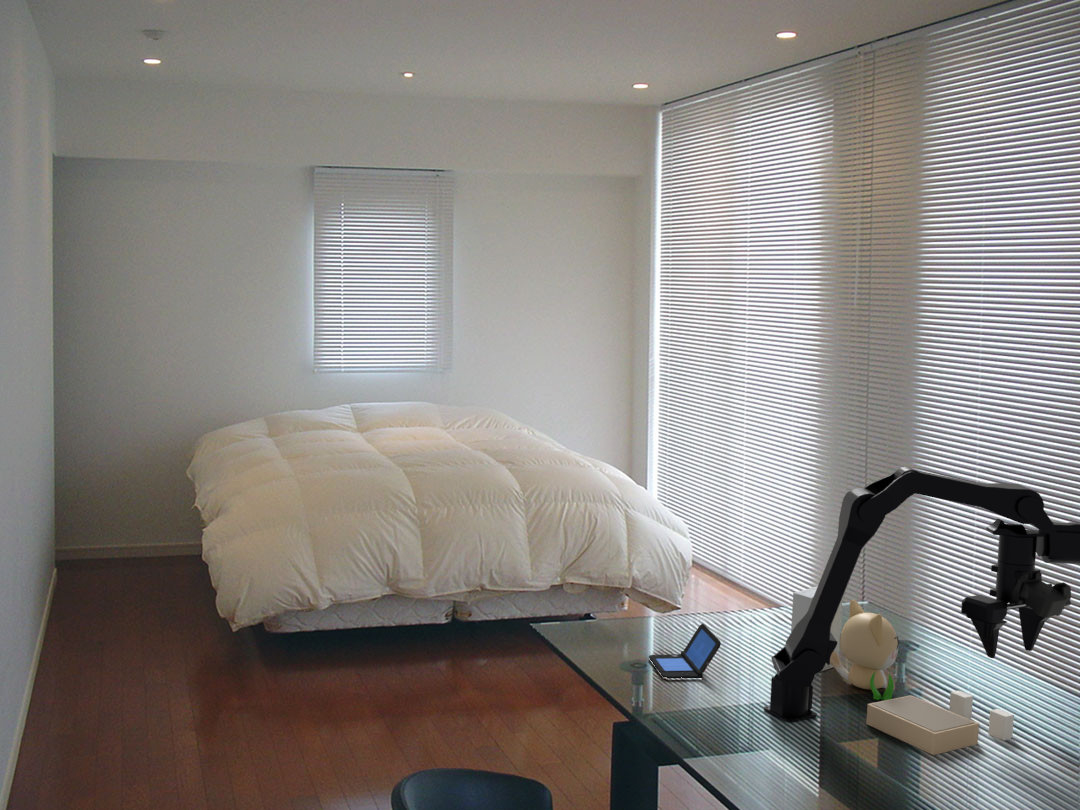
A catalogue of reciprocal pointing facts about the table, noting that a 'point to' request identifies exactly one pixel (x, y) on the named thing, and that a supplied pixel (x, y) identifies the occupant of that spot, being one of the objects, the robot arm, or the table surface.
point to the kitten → (867, 651)
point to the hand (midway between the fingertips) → (1009, 654)
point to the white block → (1001, 724)
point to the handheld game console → (689, 656)
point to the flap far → (961, 704)
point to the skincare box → (801, 608)
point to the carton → (922, 724)
